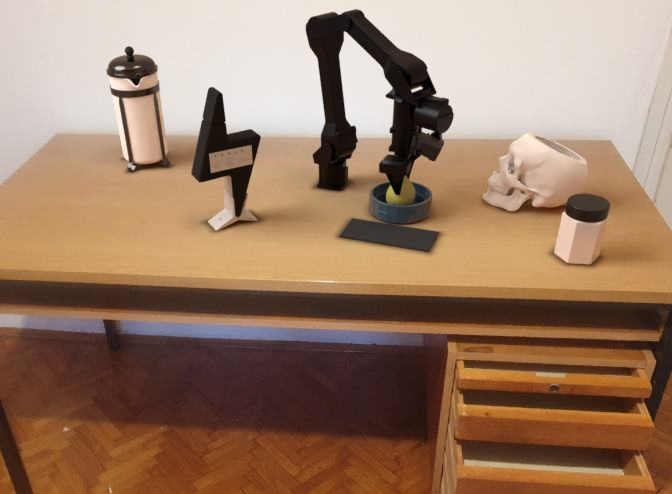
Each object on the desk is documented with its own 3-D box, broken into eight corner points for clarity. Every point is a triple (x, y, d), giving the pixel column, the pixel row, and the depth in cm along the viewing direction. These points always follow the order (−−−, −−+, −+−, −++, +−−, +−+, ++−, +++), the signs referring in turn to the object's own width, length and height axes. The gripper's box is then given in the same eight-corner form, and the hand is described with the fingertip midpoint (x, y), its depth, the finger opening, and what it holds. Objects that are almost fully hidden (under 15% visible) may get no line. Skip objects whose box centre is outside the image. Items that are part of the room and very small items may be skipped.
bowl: (361, 219, 161) (362, 201, 158) (379, 194, 172) (380, 177, 169) (421, 228, 157) (423, 210, 154) (436, 202, 167) (438, 185, 164)
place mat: (339, 237, 154) (339, 235, 154) (352, 219, 161) (352, 218, 161) (428, 252, 148) (428, 250, 148) (438, 233, 155) (438, 231, 155)
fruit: (413, 202, 167) (417, 153, 159) (414, 216, 161) (418, 167, 153) (385, 201, 167) (388, 153, 160) (385, 216, 161) (388, 166, 154)
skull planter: (473, 180, 172) (522, 113, 161) (541, 219, 175) (593, 156, 163) (474, 205, 161) (527, 135, 150) (546, 245, 164) (603, 180, 153)
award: (205, 233, 157) (189, 98, 139) (196, 224, 161) (180, 91, 143) (266, 218, 163) (258, 86, 145) (256, 209, 166) (248, 79, 149)
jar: (565, 241, 151) (577, 189, 143) (603, 252, 146) (617, 199, 139) (548, 257, 145) (559, 204, 138) (586, 269, 141) (600, 215, 134)
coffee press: (188, 156, 194) (174, 42, 176) (148, 177, 183) (129, 57, 165) (141, 145, 202) (123, 34, 184) (101, 164, 191) (78, 48, 173)
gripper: (432, 141, 142) (426, 211, 152) (452, 111, 156) (445, 177, 165) (379, 135, 146) (376, 204, 155) (403, 106, 159) (399, 171, 169)
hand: (401, 188), depth 161 cm, fingers closed on fruit, 6 cm apart
